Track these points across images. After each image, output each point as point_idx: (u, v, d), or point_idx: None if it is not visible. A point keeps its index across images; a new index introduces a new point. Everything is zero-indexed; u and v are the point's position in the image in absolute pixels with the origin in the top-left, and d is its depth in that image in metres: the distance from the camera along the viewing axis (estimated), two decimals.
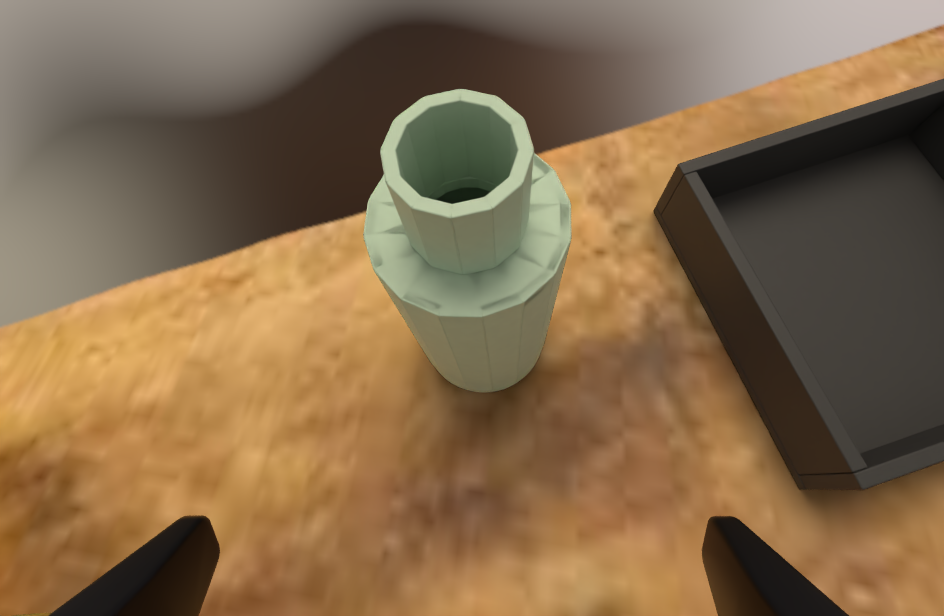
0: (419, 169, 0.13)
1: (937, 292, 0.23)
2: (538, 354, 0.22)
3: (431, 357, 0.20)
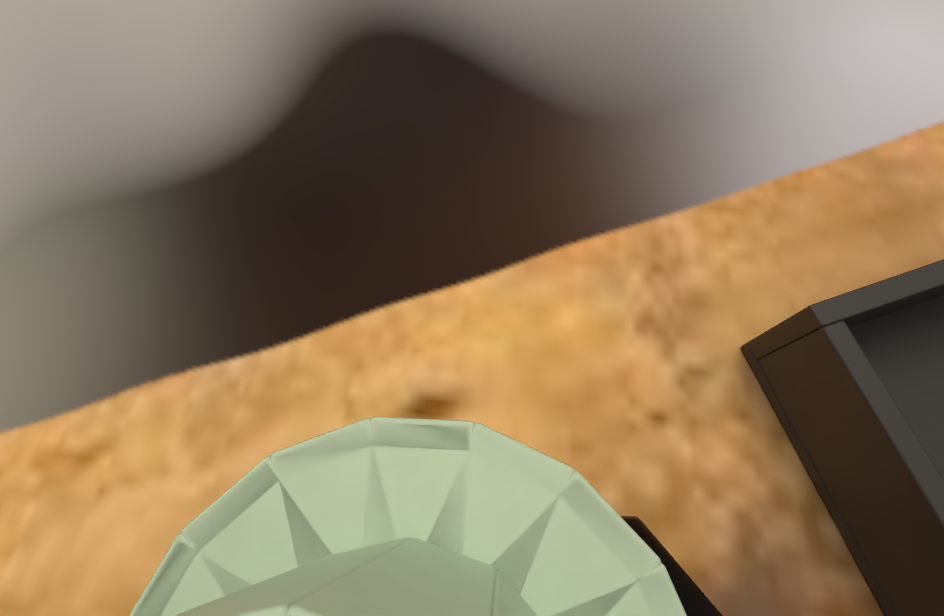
0: None
1: None
2: None
3: None
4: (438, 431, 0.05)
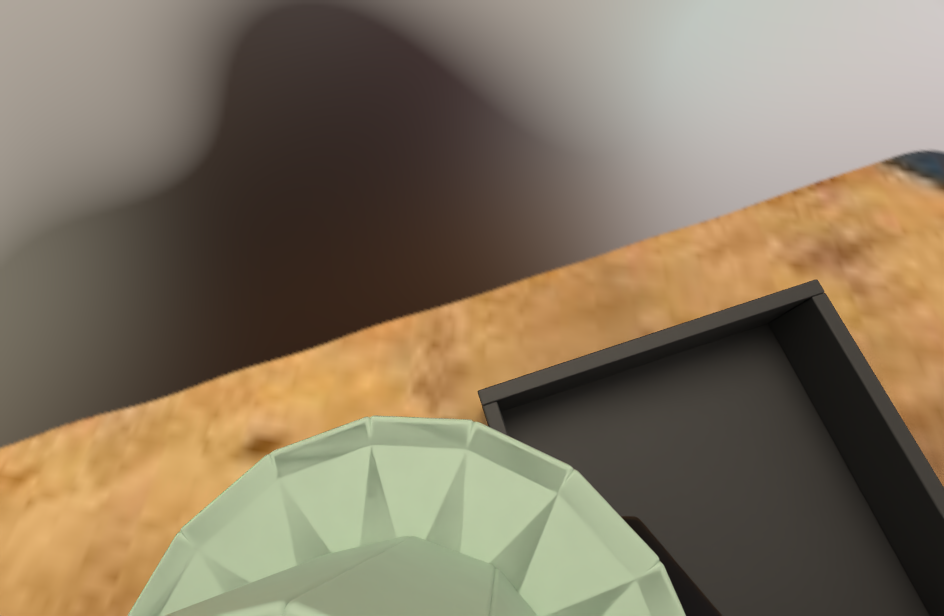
0: None
1: (779, 528, 0.20)
2: None
3: None
4: (437, 430, 0.05)
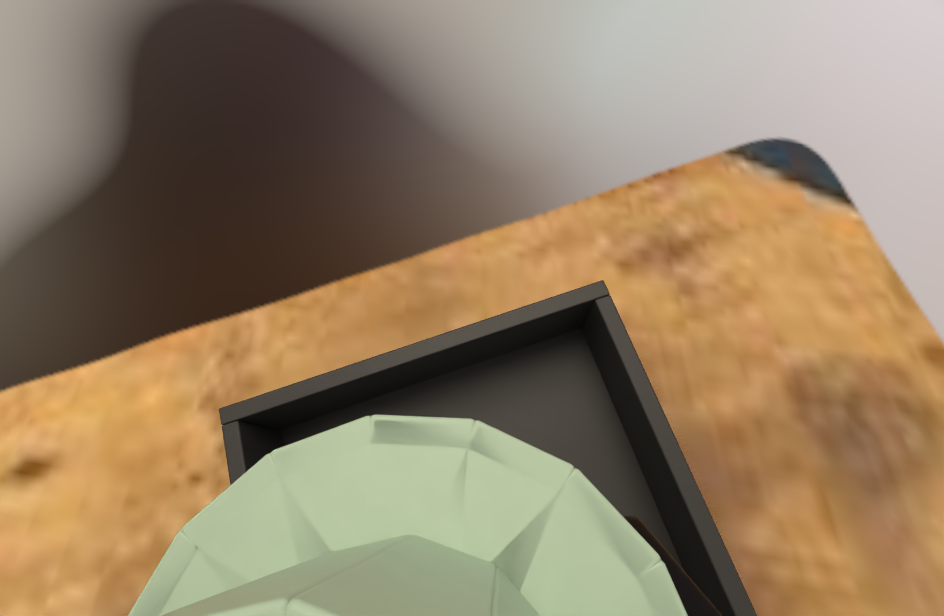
0: None
1: None
2: None
3: None
4: (438, 429, 0.05)
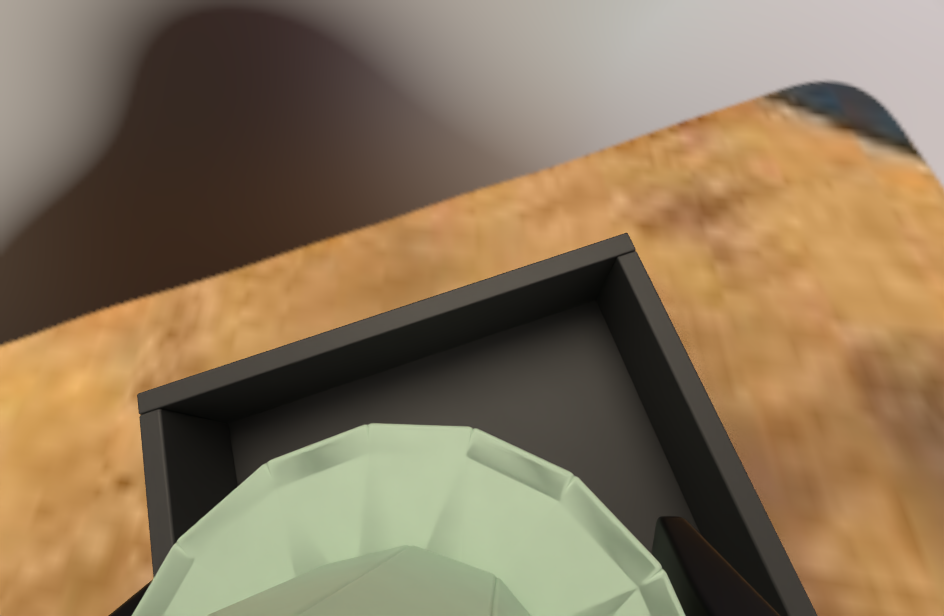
0: None
1: None
2: None
3: None
4: (436, 437, 0.05)
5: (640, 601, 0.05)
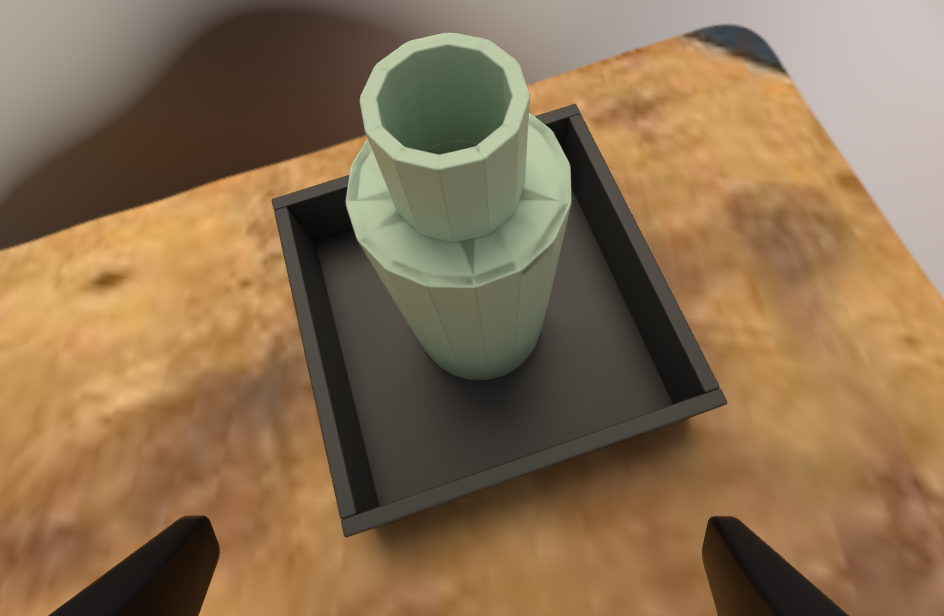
0: (405, 126, 0.12)
1: (547, 326, 0.23)
2: (536, 339, 0.21)
3: (423, 342, 0.19)
4: None
5: (543, 139, 0.13)
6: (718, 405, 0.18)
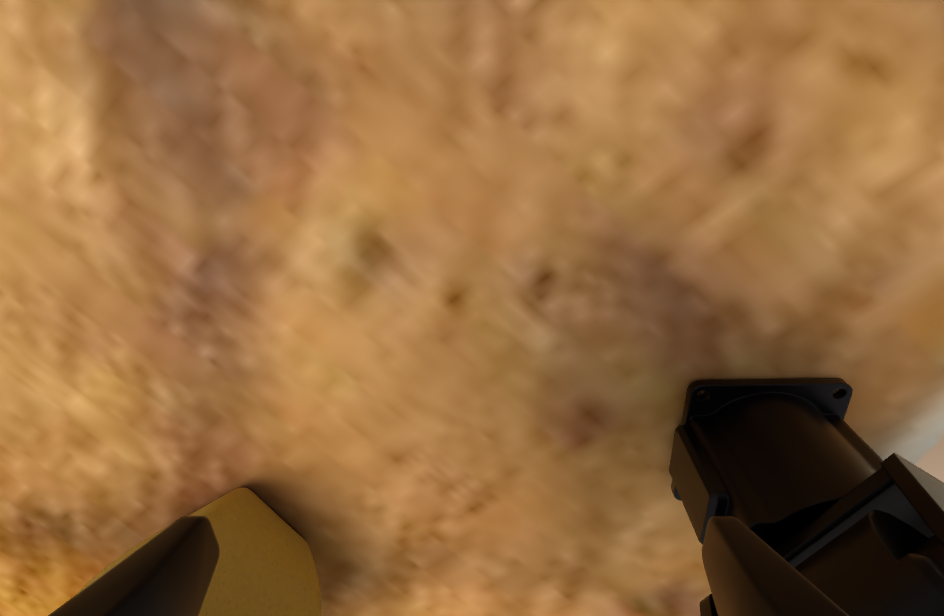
0: None
1: None
2: None
3: None
4: None
5: None
6: None
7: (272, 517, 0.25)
